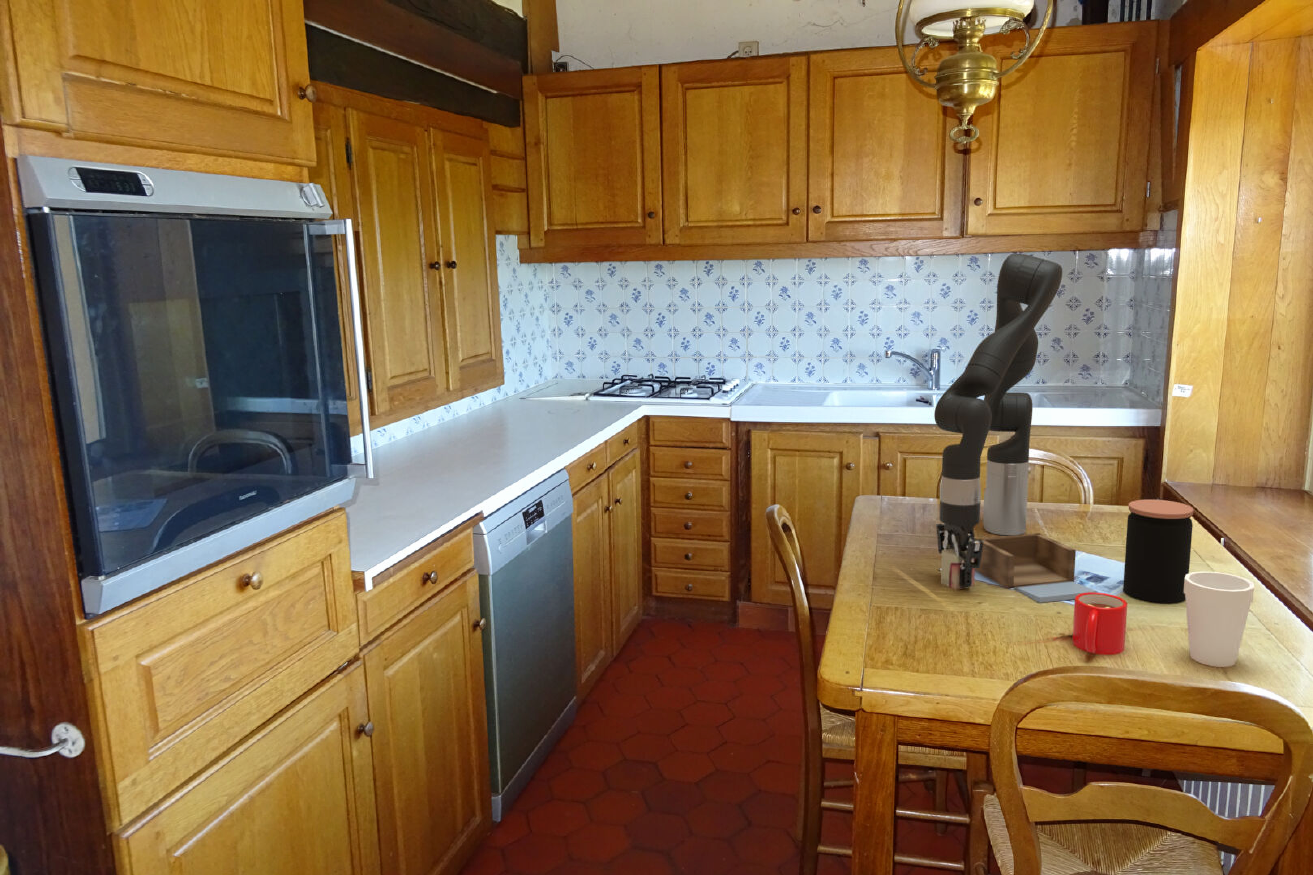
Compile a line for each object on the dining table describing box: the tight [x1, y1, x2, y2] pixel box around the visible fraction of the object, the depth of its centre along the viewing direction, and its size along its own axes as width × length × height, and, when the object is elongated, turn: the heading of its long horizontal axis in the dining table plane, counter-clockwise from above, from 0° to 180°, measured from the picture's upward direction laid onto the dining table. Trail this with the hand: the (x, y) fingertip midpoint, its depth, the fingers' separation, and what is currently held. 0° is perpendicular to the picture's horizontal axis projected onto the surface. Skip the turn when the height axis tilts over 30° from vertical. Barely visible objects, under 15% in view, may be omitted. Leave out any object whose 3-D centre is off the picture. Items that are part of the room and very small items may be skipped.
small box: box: [940, 548, 976, 590], centre depth 180 cm, size 5×4×8 cm
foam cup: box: [1184, 570, 1255, 668], centre depth 145 cm, size 10×9×13 cm
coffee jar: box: [1122, 499, 1194, 605], centre depth 171 cm, size 11×11×18 cm
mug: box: [1071, 592, 1128, 656], centre depth 150 cm, size 8×12×8 cm, turn 147°
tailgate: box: [1013, 581, 1098, 604], centre depth 174 cm, size 1×12×8 cm
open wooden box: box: [975, 532, 1077, 590], centre depth 184 cm, size 12×14×8 cm
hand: (957, 581), depth 180 cm, fingers closed on small box, 5 cm apart
